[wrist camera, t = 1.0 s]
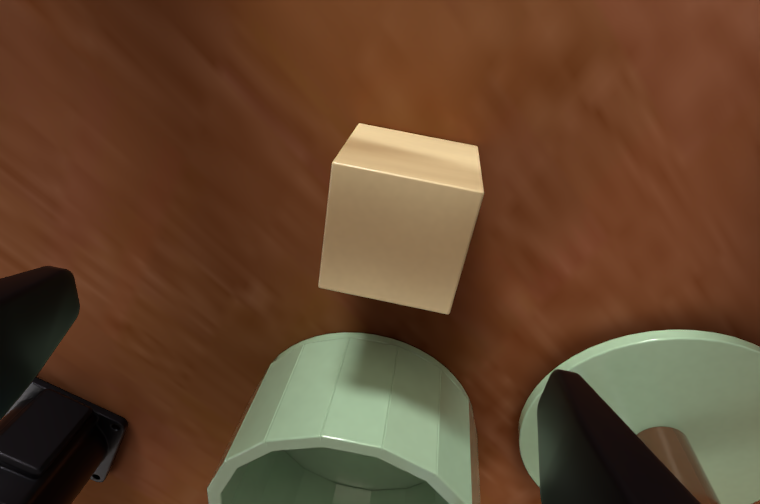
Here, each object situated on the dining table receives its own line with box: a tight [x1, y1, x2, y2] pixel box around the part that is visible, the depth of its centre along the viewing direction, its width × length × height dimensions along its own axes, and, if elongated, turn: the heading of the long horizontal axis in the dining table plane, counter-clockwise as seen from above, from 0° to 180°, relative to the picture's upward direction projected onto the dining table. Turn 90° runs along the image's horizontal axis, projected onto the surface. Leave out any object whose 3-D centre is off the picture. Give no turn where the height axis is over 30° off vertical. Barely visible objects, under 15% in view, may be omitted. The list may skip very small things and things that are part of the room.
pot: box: [207, 332, 480, 504], centre depth 22 cm, size 11×11×6 cm
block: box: [318, 123, 484, 315], centre depth 17 cm, size 4×4×4 cm
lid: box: [518, 329, 760, 504], centre depth 20 cm, size 12×12×6 cm
